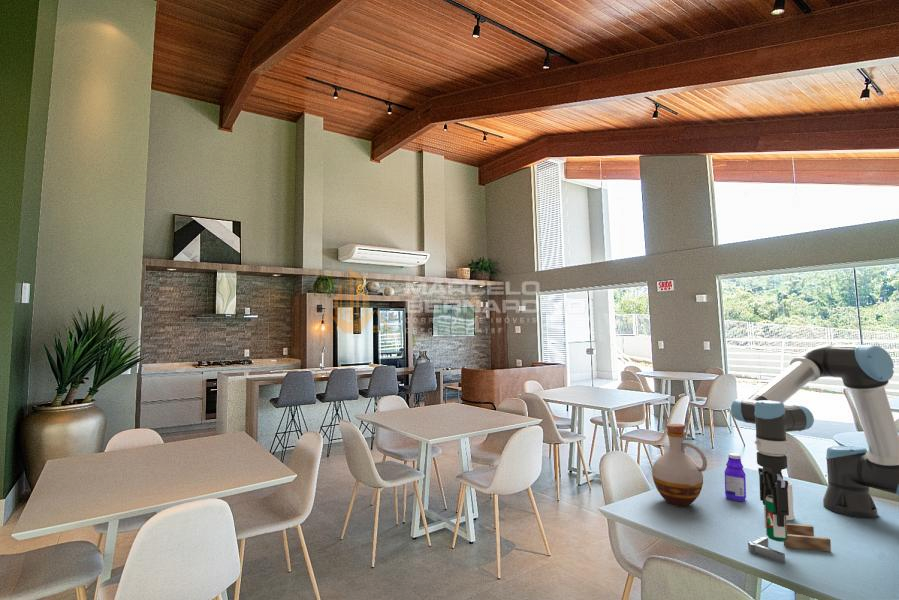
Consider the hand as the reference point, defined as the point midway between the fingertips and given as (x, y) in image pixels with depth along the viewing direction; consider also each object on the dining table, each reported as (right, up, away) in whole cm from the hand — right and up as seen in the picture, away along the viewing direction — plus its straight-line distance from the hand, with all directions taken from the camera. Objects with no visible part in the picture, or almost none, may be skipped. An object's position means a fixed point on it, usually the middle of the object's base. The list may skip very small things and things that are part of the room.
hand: (775, 532), depth 135 cm
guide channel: (+13, -7, +8) cm, 17 cm away
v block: (-3, -6, 0) cm, 7 cm away
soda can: (0, -2, 0) cm, 2 cm away
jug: (-8, -9, +39) cm, 41 cm away
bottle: (+17, -10, +45) cm, 49 cm away
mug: (+21, -9, +27) cm, 36 cm away
